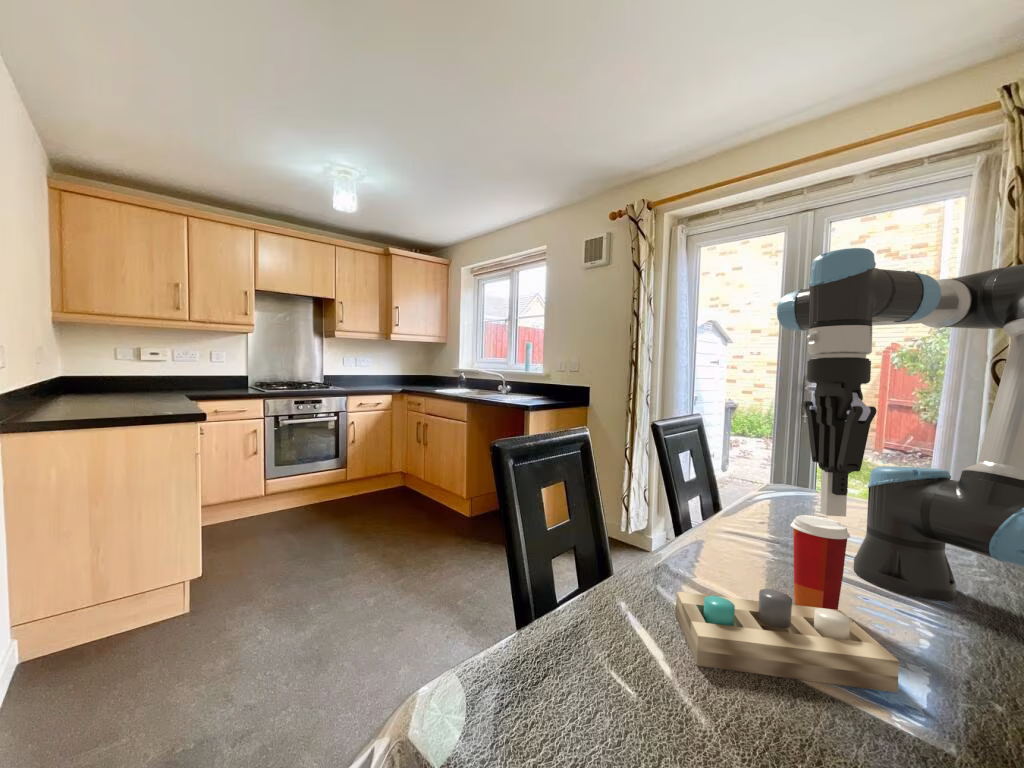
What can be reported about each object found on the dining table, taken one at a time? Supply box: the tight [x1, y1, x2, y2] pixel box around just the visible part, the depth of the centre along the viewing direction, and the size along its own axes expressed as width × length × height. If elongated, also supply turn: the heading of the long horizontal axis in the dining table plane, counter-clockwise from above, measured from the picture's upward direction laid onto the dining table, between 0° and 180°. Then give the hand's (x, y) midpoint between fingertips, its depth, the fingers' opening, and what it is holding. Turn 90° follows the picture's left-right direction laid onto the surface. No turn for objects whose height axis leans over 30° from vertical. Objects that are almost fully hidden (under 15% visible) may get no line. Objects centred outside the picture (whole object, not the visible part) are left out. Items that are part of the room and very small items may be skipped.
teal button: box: [703, 595, 735, 626], centre depth 62 cm, size 4×4×4 cm
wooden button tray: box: [675, 591, 900, 694], centre depth 61 cm, size 24×12×4 cm, turn 82°
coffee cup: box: [790, 514, 851, 610], centre depth 73 cm, size 8×8×15 cm
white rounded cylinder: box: [814, 608, 850, 640], centre depth 60 cm, size 4×4×4 cm
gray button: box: [758, 588, 793, 628], centre depth 61 cm, size 4×4×4 cm
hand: (833, 514), depth 64 cm, fingers closed
